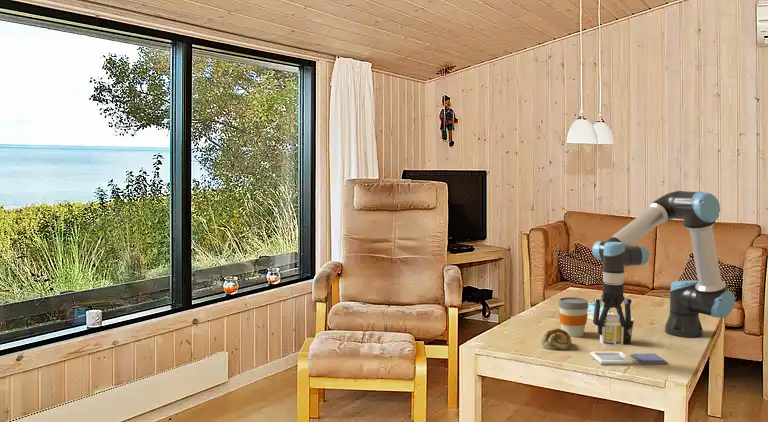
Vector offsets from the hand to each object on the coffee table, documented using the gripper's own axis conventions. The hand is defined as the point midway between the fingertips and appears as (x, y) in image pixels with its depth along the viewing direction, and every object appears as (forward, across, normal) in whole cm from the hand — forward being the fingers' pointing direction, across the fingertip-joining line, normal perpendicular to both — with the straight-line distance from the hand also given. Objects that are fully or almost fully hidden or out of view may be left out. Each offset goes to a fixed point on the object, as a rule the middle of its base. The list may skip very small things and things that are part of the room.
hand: (611, 343), depth 252 cm
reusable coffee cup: (+7, +3, -37) cm, 38 cm away
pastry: (+7, +15, -19) cm, 25 cm away
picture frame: (+7, 0, 0) cm, 7 cm away
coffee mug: (+7, -15, -24) cm, 29 cm away
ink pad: (+7, -14, +1) cm, 16 cm away
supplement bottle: (+1, 0, 0) cm, 1 cm away
